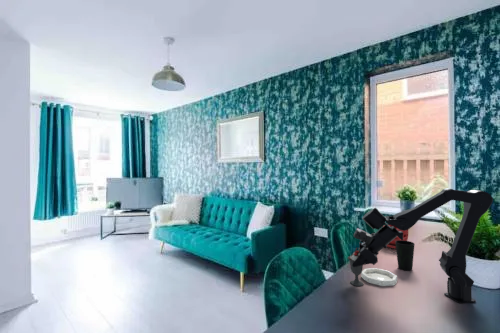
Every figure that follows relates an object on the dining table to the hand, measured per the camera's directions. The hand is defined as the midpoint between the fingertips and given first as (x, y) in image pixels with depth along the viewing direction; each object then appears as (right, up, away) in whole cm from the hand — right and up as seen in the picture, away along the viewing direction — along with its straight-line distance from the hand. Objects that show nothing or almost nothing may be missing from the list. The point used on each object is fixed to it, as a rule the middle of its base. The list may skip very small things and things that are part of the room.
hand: (352, 262), depth 107 cm
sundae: (+1, -8, -1) cm, 8 cm away
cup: (+30, -8, +14) cm, 34 cm away
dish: (+12, -8, +4) cm, 15 cm away
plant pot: (+44, -8, +47) cm, 65 cm away
